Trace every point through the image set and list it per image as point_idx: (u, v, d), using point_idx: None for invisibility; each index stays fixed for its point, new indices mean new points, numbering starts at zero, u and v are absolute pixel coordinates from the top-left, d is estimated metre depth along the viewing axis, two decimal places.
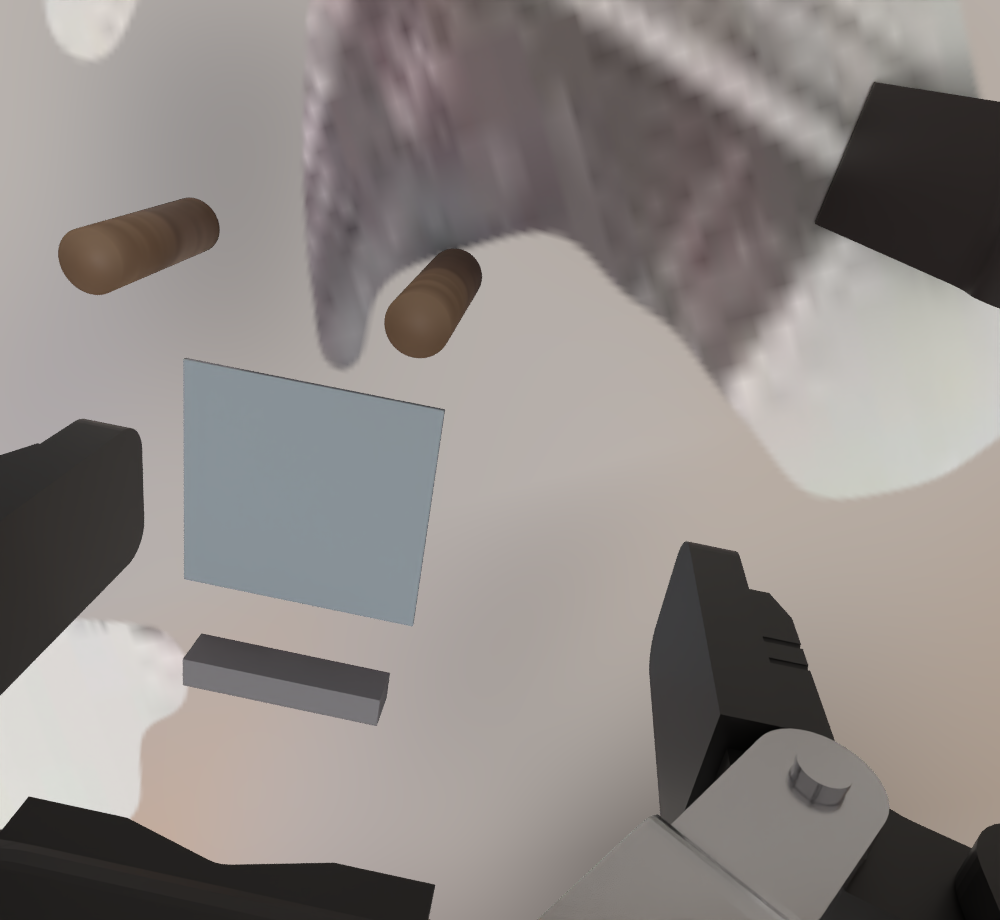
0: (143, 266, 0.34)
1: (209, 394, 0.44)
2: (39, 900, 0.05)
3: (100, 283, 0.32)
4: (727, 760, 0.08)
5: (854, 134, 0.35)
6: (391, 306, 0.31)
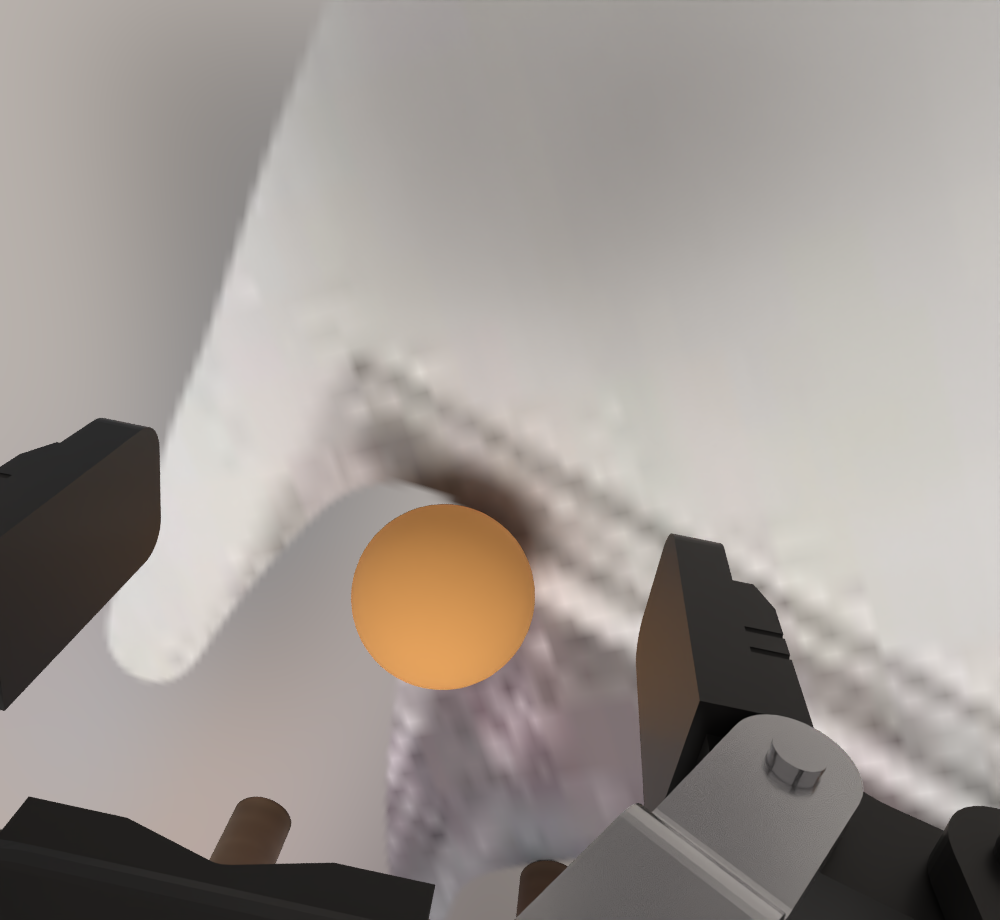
0: None
1: None
2: (39, 900, 0.05)
3: None
4: (707, 746, 0.08)
5: None
6: None
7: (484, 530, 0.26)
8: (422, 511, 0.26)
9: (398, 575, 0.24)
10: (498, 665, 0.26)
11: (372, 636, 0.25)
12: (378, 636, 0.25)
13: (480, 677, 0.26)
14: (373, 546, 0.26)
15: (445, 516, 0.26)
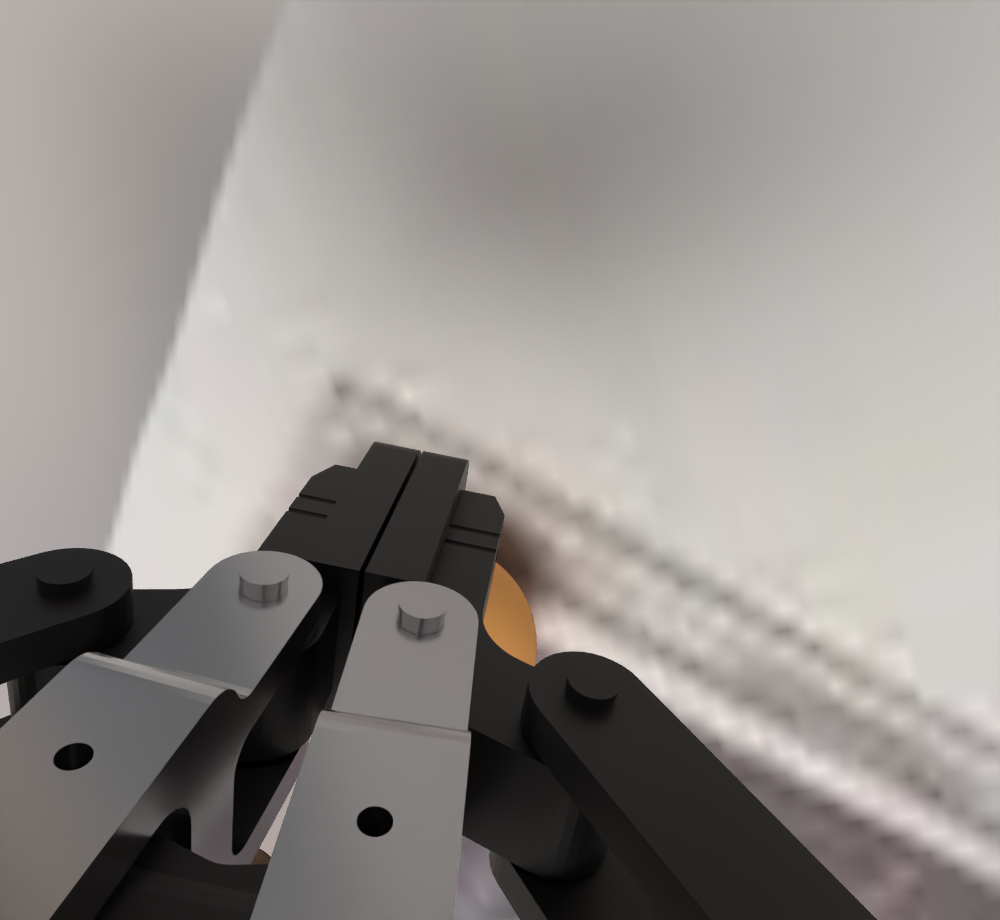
0: None
1: None
2: None
3: None
4: None
5: None
6: None
7: None
8: None
9: None
10: None
11: None
12: None
13: None
14: None
15: None
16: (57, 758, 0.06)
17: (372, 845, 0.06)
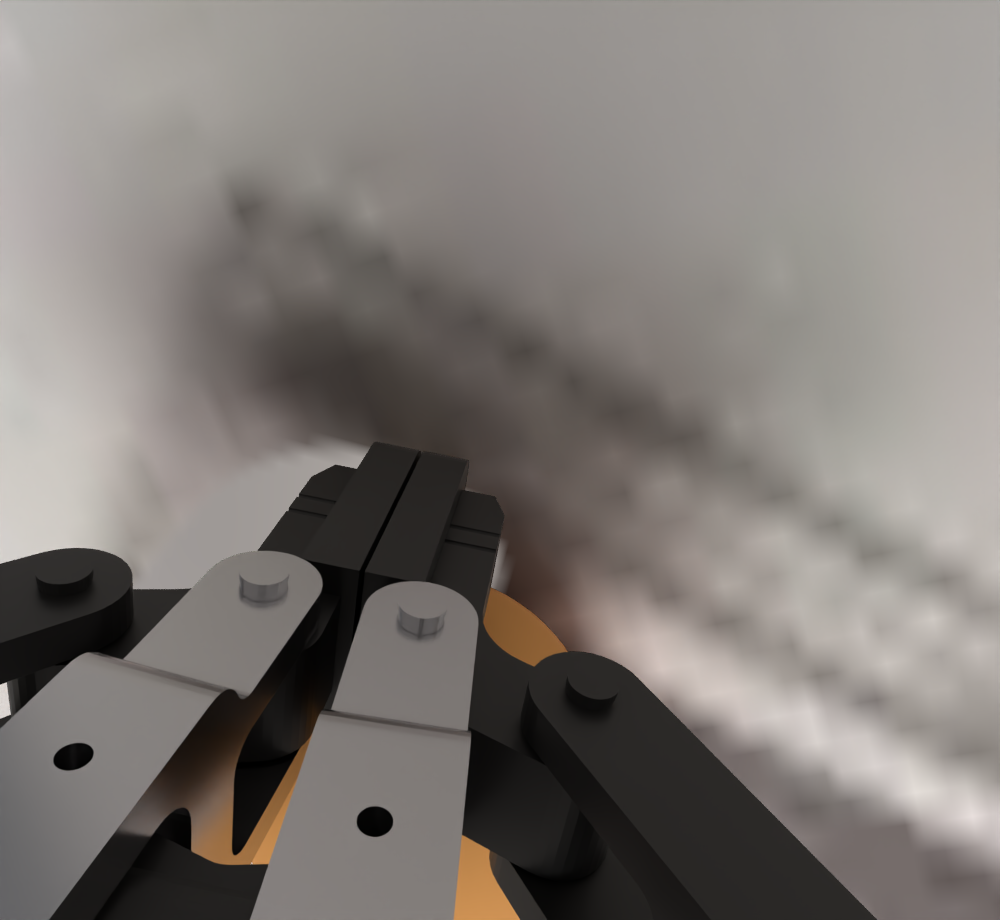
0: None
1: None
2: None
3: None
4: None
5: None
6: None
7: None
8: None
9: None
10: None
11: None
12: None
13: None
14: None
15: None
16: (57, 758, 0.06)
17: (370, 846, 0.06)
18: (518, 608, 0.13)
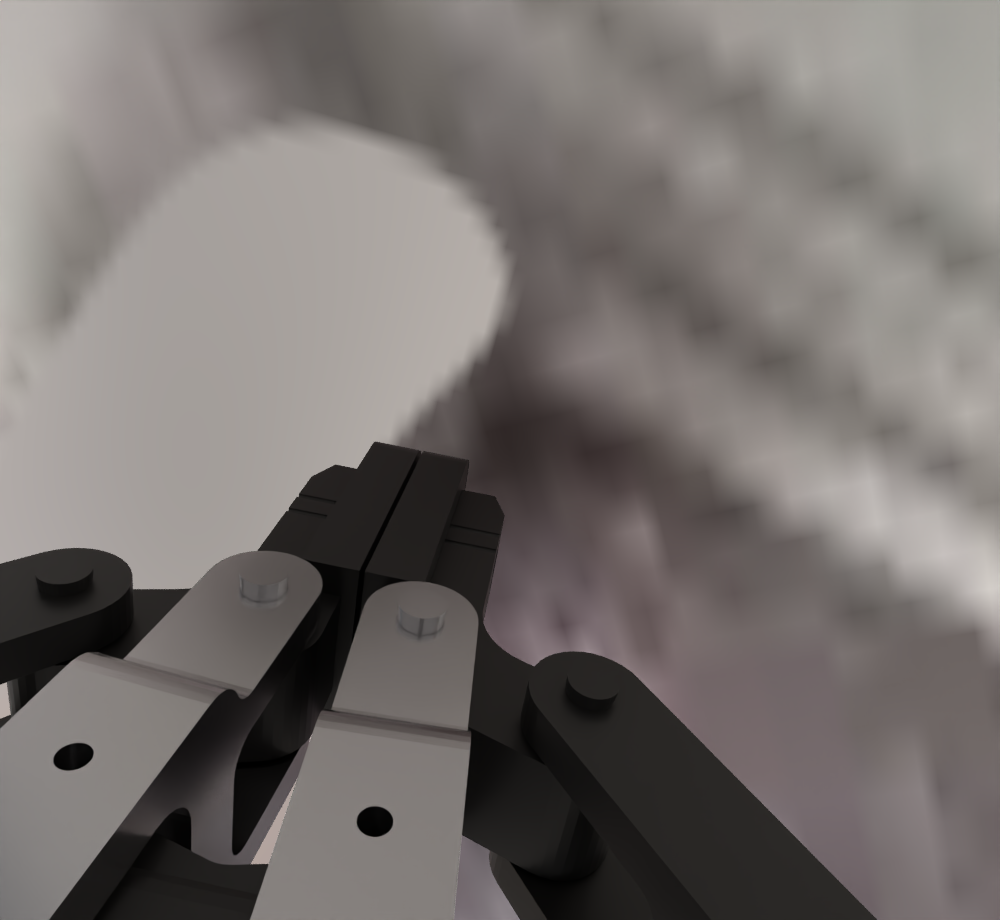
0: None
1: None
2: None
3: None
4: None
5: None
6: None
7: None
8: None
9: None
10: None
11: None
12: None
13: None
14: None
15: None
16: (55, 758, 0.06)
17: (370, 845, 0.06)
18: None
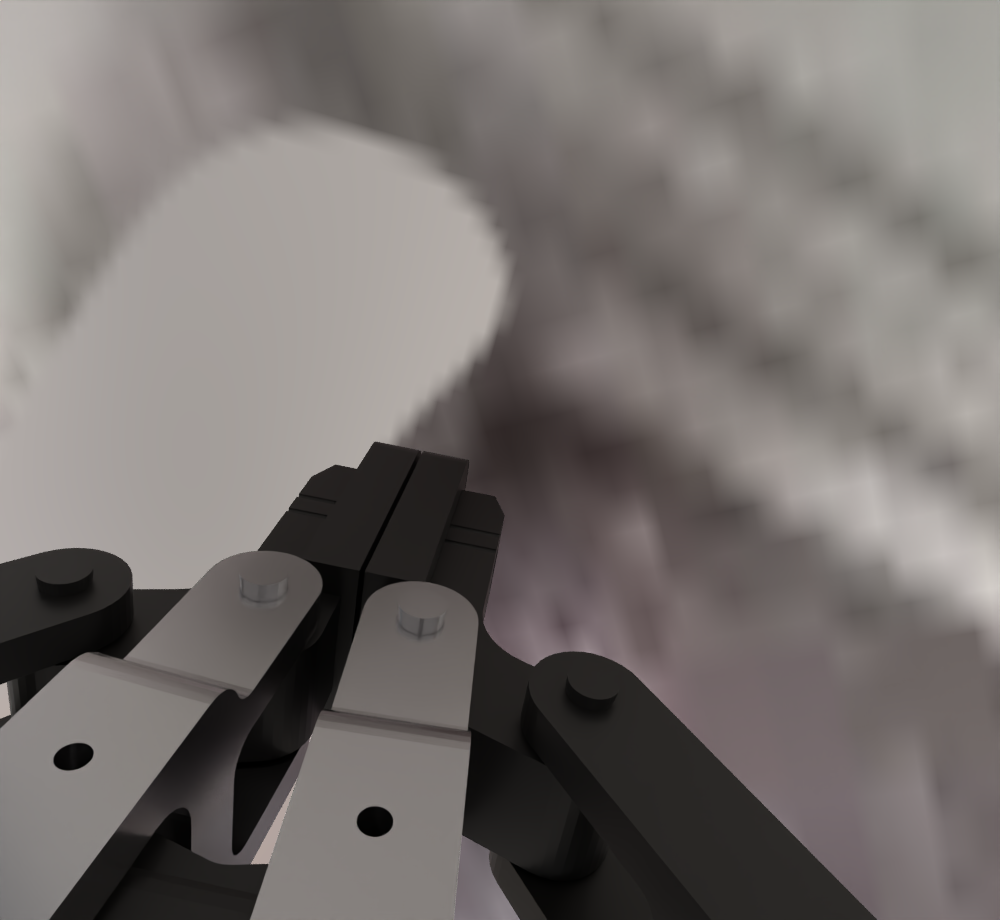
0: None
1: None
2: None
3: None
4: None
5: None
6: None
7: None
8: None
9: None
10: None
11: None
12: None
13: None
14: None
15: None
16: (55, 758, 0.06)
17: (370, 845, 0.06)
18: None
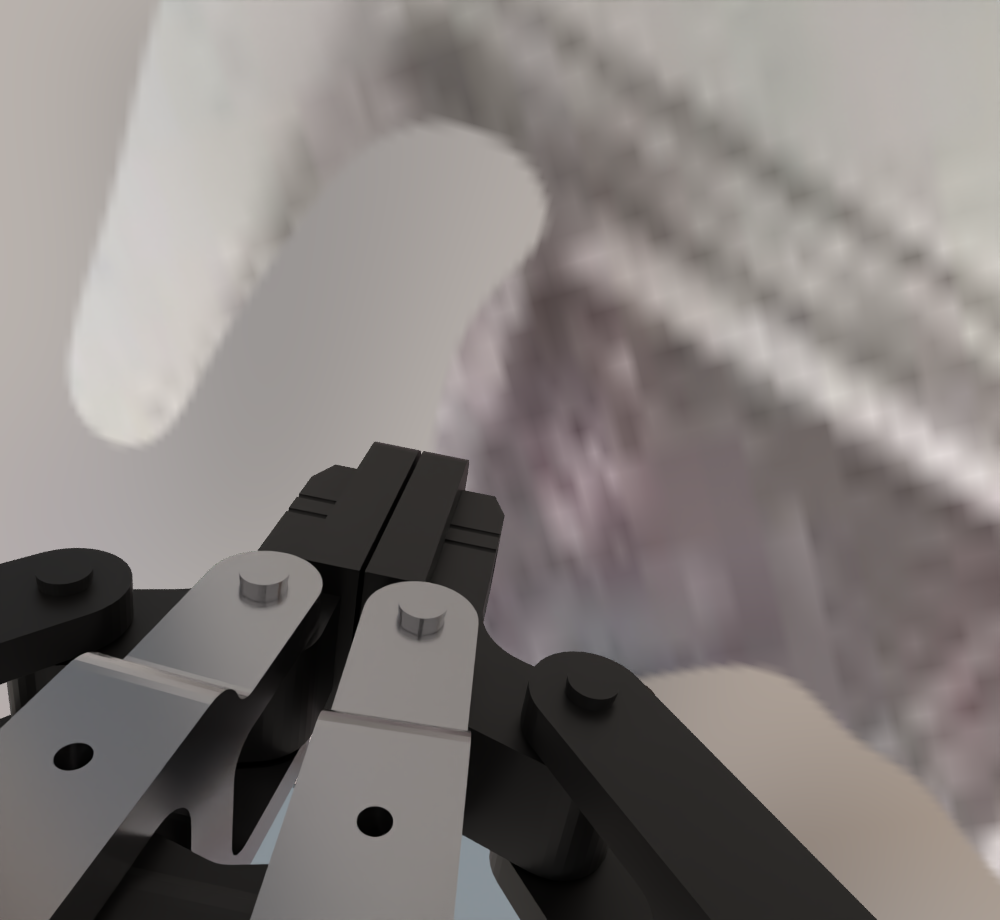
0: None
1: (278, 816, 0.33)
2: None
3: None
4: None
5: None
6: None
7: None
8: None
9: None
10: None
11: None
12: None
13: None
14: None
15: None
16: (57, 758, 0.06)
17: (372, 846, 0.06)
18: None
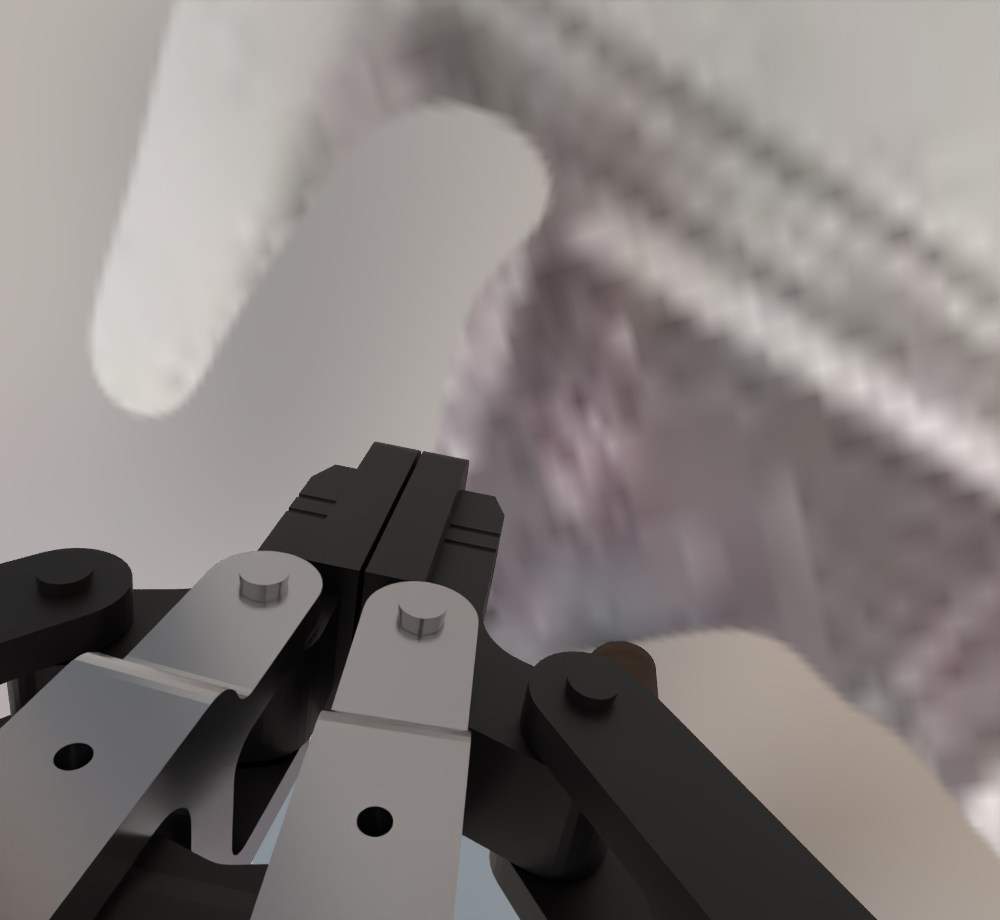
0: None
1: None
2: None
3: None
4: None
5: None
6: None
7: None
8: None
9: None
10: None
11: None
12: None
13: None
14: None
15: None
16: (57, 758, 0.06)
17: (372, 845, 0.06)
18: None
